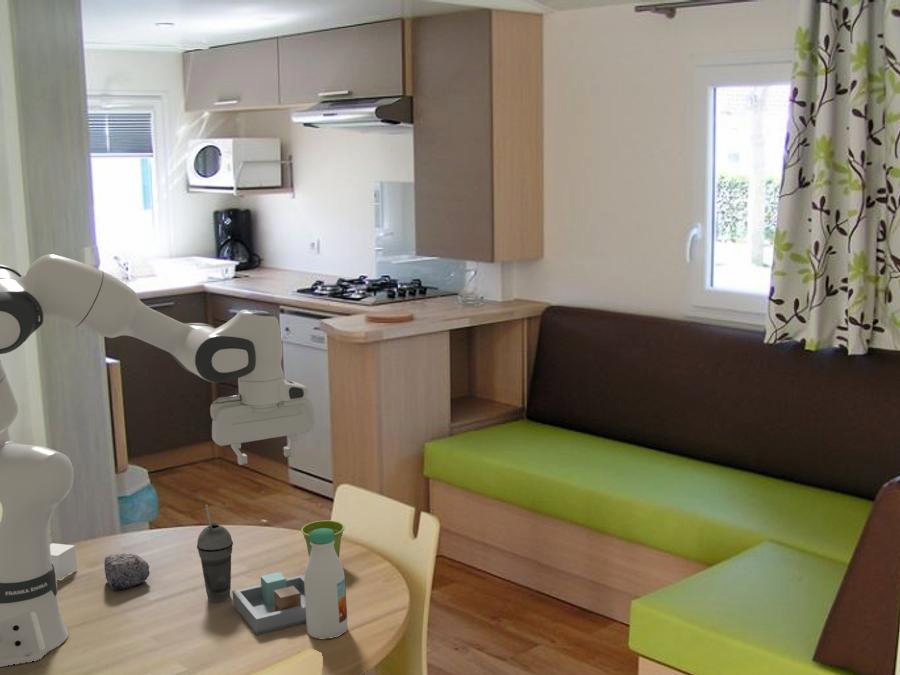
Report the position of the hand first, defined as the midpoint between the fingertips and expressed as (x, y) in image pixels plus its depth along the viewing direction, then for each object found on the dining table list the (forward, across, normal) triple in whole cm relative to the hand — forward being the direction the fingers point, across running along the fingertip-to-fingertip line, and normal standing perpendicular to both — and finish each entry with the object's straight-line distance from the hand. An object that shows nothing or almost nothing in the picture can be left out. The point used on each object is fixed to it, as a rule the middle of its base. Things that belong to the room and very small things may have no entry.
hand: (265, 459), depth 215 cm
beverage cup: (+30, -9, +9) cm, 33 cm away
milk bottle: (+31, +5, -17) cm, 35 cm away
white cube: (+31, -36, +40) cm, 62 cm away
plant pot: (+30, +16, +13) cm, 37 cm away
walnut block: (+30, 0, -8) cm, 31 cm away
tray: (+30, 0, -4) cm, 31 cm away
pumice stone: (+31, -24, +26) cm, 47 cm away
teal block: (+30, 0, 0) cm, 30 cm away
